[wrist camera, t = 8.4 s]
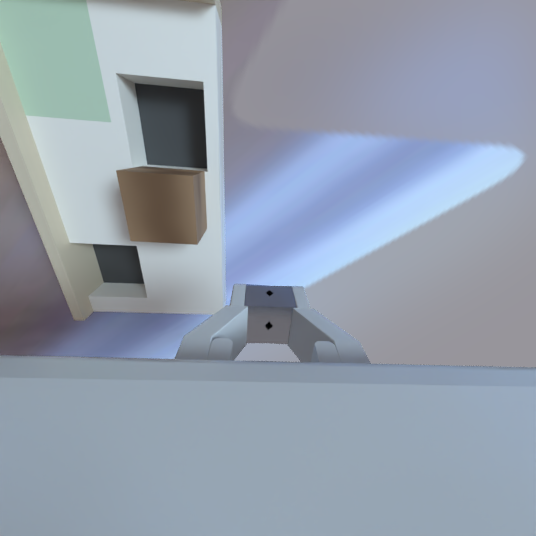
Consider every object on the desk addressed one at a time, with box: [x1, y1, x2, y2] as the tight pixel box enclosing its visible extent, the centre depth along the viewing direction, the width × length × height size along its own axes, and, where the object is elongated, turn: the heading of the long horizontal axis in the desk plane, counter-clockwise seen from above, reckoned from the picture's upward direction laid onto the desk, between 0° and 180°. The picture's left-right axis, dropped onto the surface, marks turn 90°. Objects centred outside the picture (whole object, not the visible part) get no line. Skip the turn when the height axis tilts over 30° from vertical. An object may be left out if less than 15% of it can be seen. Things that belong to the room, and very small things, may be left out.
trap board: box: [0, 0, 226, 321], centre depth 20 cm, size 15×26×4 cm, turn 176°
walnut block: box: [116, 166, 207, 245], centre depth 18 cm, size 5×5×4 cm
